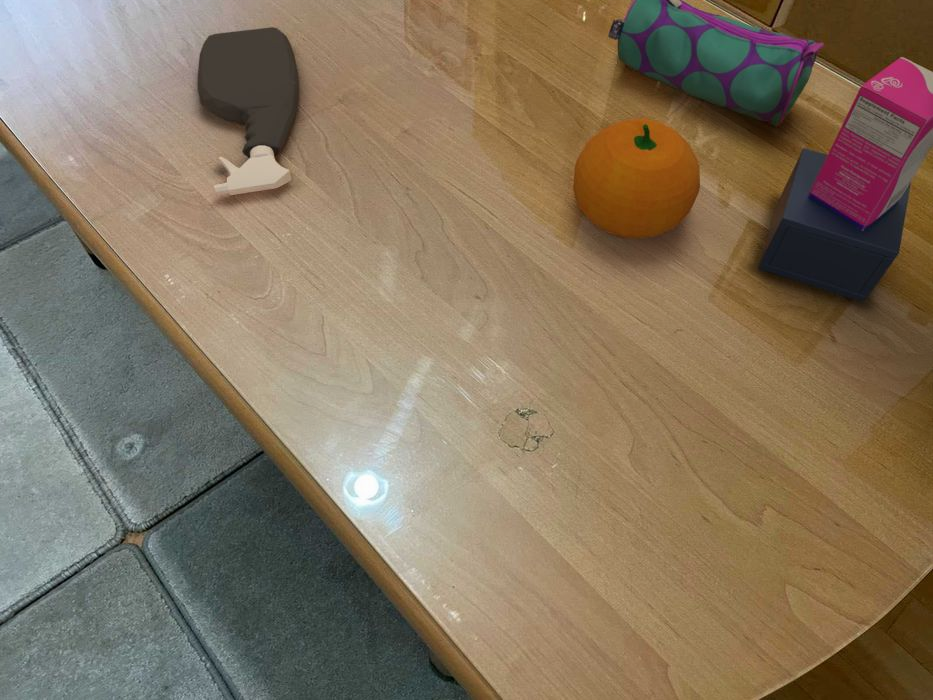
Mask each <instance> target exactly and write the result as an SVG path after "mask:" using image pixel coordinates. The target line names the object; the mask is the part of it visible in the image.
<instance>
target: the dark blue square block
mask: <svg viewBox="0 0 933 700" xmlns="http://www.w3.org/2000/svg"><path fill="white" fill-rule="evenodd" d="M798 160H799V158H797V161H796V164H795V165H794V167H793V169H792V172H790V175H789V177H788V179H787V181H786V184H785V186H784V187H783V190H782V192H781V194H780V196H779V198H778V200H777V203H776V206H775V209H774V212H773V216H772V220H771V222H770V224H769V225H770V226H769V228H768V232H767V235H766V239H765V241H764V245H763V249H762V251H761V255H760V257H759V258H760V259H759V262H758V264H757V269H759V270H761V271H763V272H764V271H765V272H768V273H771V274H774V275H777V276H780V277H782V278H787V279H789V280H792V281H796V282H798V283H803V284H806V285H808V286H811V287H814V288H817V289H821V290H824V291H827V292H830V293H833V294H836V295H839V296H842V297H845V298H849V299H852V300H855V301H857V302H861V303H865V302H866V300H867V298H868V297H869V296H870V295H871V293H872V292H873V291H874V289H875V288H876V286H877V285H878V283H879V282H880V281H881V280H882V278H883V276H884V275H885V274H886V273H887V271H888V270H889V268H890V267H891V265H892V264H893V263H894V261H895V260H896V258H895V259H893V258H890V257H887V256H884V255H880V254H877V253H874V252H871V251H867V250H864V249H861V248H857V247H854V246H851V245H848V244H844V243H841V242H838V241H835V240H831V239H828V238H825V237H821V236H818V235H815V234H812V233H808V232H805V231H802V230H799V229H795V228H792V227H789V226H785V225H782V224H780V221H781V217H782V214H783V211H784V207H785V204H786V201H787V197H788V194H789V190H790V187H791V184H792V180H793V177H794V174H795V170H796V167H797V164H798Z"/></svg>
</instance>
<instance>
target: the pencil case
mask: <svg viewBox="0 0 933 700" xmlns="http://www.w3.org/2000/svg"><path fill="white" fill-rule="evenodd" d="M607 37H608V38H609V39H612V40H614V41H617V57H618V60H619V61H620V62H621V63H623V64H625V65H627V66H629V67H630V68H631V69H632V70H634V71H636V72H638V73H640V74H642V75H644V76H646V77H648V78H650V79H652V80H654V81H656V82H660V83H663V84H665V85H667V86H668V87H671V88H673V89H675V90H677V91H680V92H682V93H684V94H686V95H688V96H691V97H694V98H696V99H699V100H702V101H705V102H707V103H710V104H713V105H715V106H718V107H721V108H724V109H727V110H730V111H732V112H735V113H737V114H740V115H744V116H749V117H750V118H752V119H754V120H757V121H762V122H768V123H769V124H770V125H772V126H774V127H779V126H780V125H782V123H783V121H784V120H785V118H786V116H787V115H788V114H789V113H790V112H791V110H792V109H793V108H794V106H795V104H796V102H797V100H798V98H799V97H800V95H801V94H802V92H803V90H804V89H805V87H806V86H807V83H809V80H810V77H811V74H812V71H813V67H814V65H815V62H816V60H817V56H818V54H819V50H820V49H822V48H823V47H824V46H825V43H824V42H816V41H815V40H813V39H807V38H805V39H804V38H795V37H793V36H790V35H787V34H785V33H782V32H775V31H768V30H766V29H762V28H760V27H756V26H753V25H751V24H747V23H745V22H742V21H739V20H736V19H733V18H730V17H727V16H724V15H720V14H715V13H712V12H708V11H705V10H702V9H699V8H697V7H695V6H692V4H690V3H688V2H686V1H684V0H633V1H632V2H631V4H630V5H629V8H628V10H627V12H626V14H625V17H624V19H622V18H618V19H613V21H612V23H611V25H610V29H609V32H608V35H607Z"/></svg>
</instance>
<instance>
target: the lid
mask: <svg viewBox="0 0 933 700" xmlns="http://www.w3.org/2000/svg"><path fill="white" fill-rule="evenodd" d="M827 155H828V153H827V154H826V153H823V152H820V151H817V150H813V149H809V148H806V147H803V148H802V150H801V152H800V153H799V157H798V159H799V160H798V159H797V161H798V164H797V167H796V170H795V174H794V177H793V180H792V184H791V187H790V190H789V194H788V197H787V201H786V204H785V207H784V211H783V214H782V217H781V221H780V224H782V225H785V226H789V227H792V228H795V229H799V230H802V231H805V232H808V233H812V234H815V235H818V236H821V237H825V238H828V239H831V240H835V241H838V242H841V243H844V244H848V245H851V246H854V247H857V248H861V249H864V250H867V251H871V252H874V253H877V254H880V255H884V256H887V257H890V258H893V259H895V260H896V258H897V257H898V255H899V254H900V250H901V244H902V238H903V233H904V227H905V226H904V225H905V220H906V214H907V208H908V203H909V197H910V191H911V184H912V181H911V182H910V184H909V185H908V187H907V189H906V190H905V192H904V194H903V195H902V197H901V199H900V201H899V202H898V203H897V204H896V205H894V206H893V207H892V208H891V209H890V210H889V211H888V212H886V213H885V214H884V215H883V216H882V217H880V218H879V219H878V220H877V221H876V222H874V223H873V224H872V225H871V226H869V227H868V228H867V229H866V230H864V231H861V230H860V229H858V228H857V227H855V226H854V225H852V224H851V223H849V222H848V221H846V220H845V219H843V218H842V217H840V216H839V215H837V214H835V213H834V212H832V211H831V210H829V209H828V208H826V207H824V206H823V205H821V204H820V203H818V202H817V201H815V200H813V199H812V198H810V197H809V196H808V194H809V192H810V190H811V188H812V186H813V184H814V182H815V180H816V178H817V176H818V174H819V172H820V170H821V168H822V166H823V163H824V161H825V159H826V157H827Z"/></svg>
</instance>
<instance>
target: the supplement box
mask: <svg viewBox="0 0 933 700" xmlns="http://www.w3.org/2000/svg"><path fill="white" fill-rule="evenodd" d="M932 148H933V71H931V70H930V69H927V68H925V67H923V66H922V65H919V64H917V63H915V62H913V61H912V60H910V59H908V58H906V57H903V56H900V57H899V58H898V59H896V60H895V61H894V62H892V63H891V64H890V65H888V66H887V67H885V68H884V69H882V70H881V71H879V72H878V73H877V74H875V75H874V76H872V78H870V79H868V80H867V81H866V82H864V83H863V84H861V86H859V89H858V91H857V94H856V96H855V98H854V100H853V102H852V104H851V106H850V108H849V110H848V112H847V114H846V116H845V119H844V121H843V123H842V124H841V127H840V129H839V131H838V133H837V134H836V137H835V139H834V141H833V143H832V145H831V147H830V149H829V151H828V153H827V157H826V159H825V161H824V163H823V166H822V168H821V170H820V172H819V174H818V176H817V178H816V180H815V182H814V184H813V186H812V188H811V190H810V192H809V194H808V196H809V197H810V198H812V199H813V200H815V201H817V202H818V203H820V204H821V205H823V206H824V207H826V208H828V209H829V210H831V211H832V212H834V213H835V214H837V215H839V216H840V217H842V218H843V219H845V220H846V221H848V222H849V223H851V224H852V225H854V226H855V227H857V228H858V229H860V230H861V231H864V230H866V229H867V228H868V227H869V226H871V225H872V224H873V223H874V222H876V221H877V220H878V219H879V218H880V217H882V216H883V215H884V214H885V213H886V212H888V211H889V210H890V209H891V208H892V207H893V206H894V205H896V204H897V203H898V202H899V201H900V199H901V197H902V195H903V194H904V192H905V190H906V189H907V187H908V185H909V184H910V182H911V183H912V181H913V179H914V177H915V176H916V174H917V172H918V171H919V169H920V167H921V166H922V165H923V162H924V161H925V160H926V158H927V156H928V155H929V153H930V151H931V150H932Z"/></svg>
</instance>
